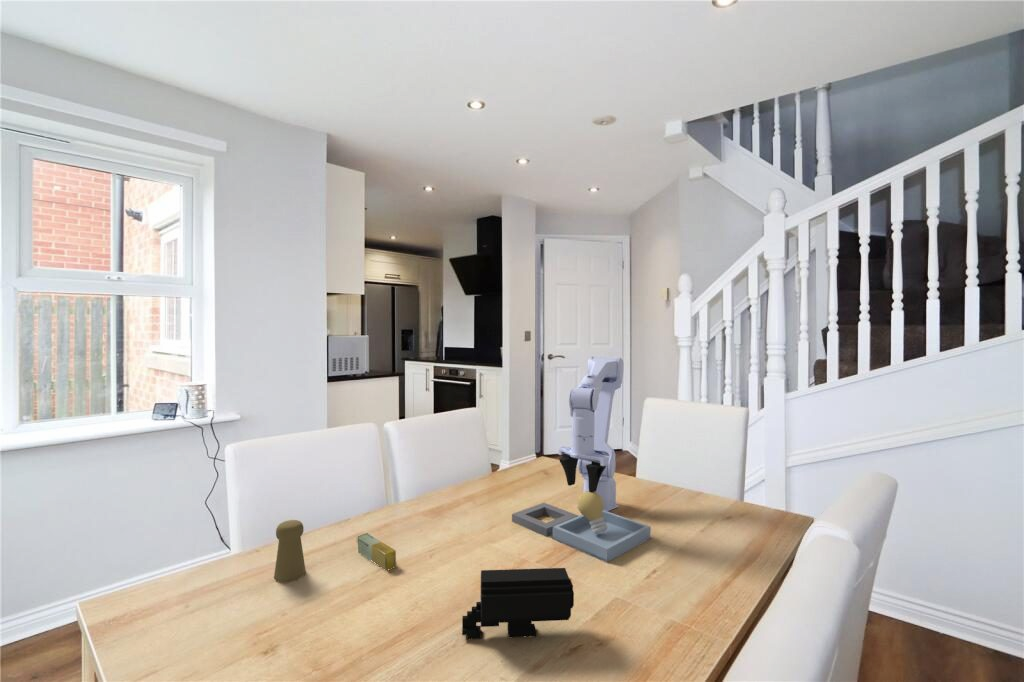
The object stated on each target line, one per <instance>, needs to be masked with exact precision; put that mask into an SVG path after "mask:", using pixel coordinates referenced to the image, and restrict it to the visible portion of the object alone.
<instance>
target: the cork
mask: <svg viewBox="0 0 1024 682" xmlns="http://www.w3.org/2000/svg"><path fill="white" fill-rule="evenodd" d="M304 530H305V529H304V525H303V522H302V521H300V520H297V519H289V520H285V521H283V522H280V523H279V524H278V525H277V527H276V530H275V536H276V538H277V540H278V543H277V552H276V553H277V554H276V561H275V568H274V575H273V579H275V580H276V581H275V580H274V581H275V582H277V581H279V582H278V583H290V582H291V581H292V582H294V580H295V581H297V579H298V580H300V579H302V578H303V577H304V576H305V575H306V574H307V572H306V570H307V569H306V565H305V563H306V562H305V556H304V551H303V544H302V535H303V533H304ZM305 573H306V574H305ZM303 575H304V576H303ZM302 576H303V577H302ZM301 577H302V578H301ZM299 578H300V579H299Z"/></svg>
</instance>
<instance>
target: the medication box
mask: <svg viewBox="0 0 1024 682" xmlns="http://www.w3.org/2000/svg"><path fill="white" fill-rule="evenodd" d="M357 545H358V546H357V548H358V549H357V550H358V551H357V553H358V554H360V553H361V556H363V555H364V556H363V557H365V556H366V557H367V558H366V557H365V558H366V559H368V560H369V559H370V561H371V560H372V561H373V562H372V561H371V562H372V563H374V562H375V563H376V564H375V563H374V564H375V565H377V564H378V565H379V566H378V565H377V566H378V567H380V568H381V567H382V568H381V569H383V568H384V569H385V571H386V570H387V571H389V570H388V569H390V570H392V569H394V568H393V567H395V568H396V567H397V551H396V549H394V548H393V547H391V546H389V545H387V544H386V543H385V542H382V541H381V540H380V539H377V538H376V537H374V536H372V535H371V534H370V533H368V532H367V533H363V534H360V535H359V536H357ZM391 568H392V569H391ZM384 569H383V570H384Z"/></svg>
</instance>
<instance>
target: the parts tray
mask: <svg viewBox="0 0 1024 682" xmlns="http://www.w3.org/2000/svg"><path fill="white" fill-rule="evenodd" d="M602 517H603V518H604V521H605V522H606V524H605V525H607V530H606V531H604V532H601V533H598V534H595V533H593V531H592V530H593V529H592V528H591V525H590V523H589V522H590V520H589V519H587V518H586V517H585V516H583V515H582V514H580V515H579V516H577V517H575V518H572V519H570V520H568V521H565V522H563V523H560V524H558V525H555V526H553V534H552V540H554V541H557V542H559V543H562V544H564V545H565V546H568V547H569V548H570V547H571V548H572V549H575V550H577V551H580V552H582V553H584V554H587V555H589V556H590V557H594V558H596V559H598V560H600V561H602V562H605V563H608V562H610V561H612V560H614V559H616V558H618V557H619V556H622V555H623V554H625V553H627V552H628V551H630V550H632V549H634V548H635V547H638V546H640V545H641V544H643V543H645V542H648V541H649V540H651V536H652V535H651V531H652V528H651V527H652V526H650V525H647V524H645V523H641V522H639V521H636V520H633V519H630V518H627V517H625V516H621V515H618V514H616V513H612V512H611V511H608V512H607V511H605V510H603V511H602Z"/></svg>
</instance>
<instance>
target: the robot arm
mask: <svg viewBox="0 0 1024 682" xmlns="http://www.w3.org/2000/svg"><path fill="white" fill-rule="evenodd" d="M623 377H624V360H623V358H622V357H621V356H619V357H605V356H604V357H603V356H600V357H599V356H590V358H589V359H588V360H587V374H586V375H585V376H583V377H582V380H581V381H580V382H579V384H578V386H577V387H574V388H572V389H571V390H570V392H569V396H568V397H569V398H568V403H569V411H570V412H569V413H570V417H571V447H569V446H558V455H559V456H562V457H559V463H560V464H561V467H562V469H563V471H564V474H565V478H566V481H567V485H568V486H569V487H571V486H573V485H575V484H576V480H577V479H576V478H577V471H578V473H579V474H580V475H581V478H583V491H582V492H583V493H585V492H588V491H589V492H596V493H597V494H599V495H600V497H601V498H602V500H603V510H605V511H607V512H611V511H612V510H614V509H616V508H619V504H617V503H616V502H617V483H616V480H615V478H614V476H615V472H616V463H617V462H616V452H615V450H614V448H612V447H611V446H610V445H609V443H608V442H609V431H610V425H611V418H612V409H613V401H614V396H615V393H616V390H618V389H620V388H621V387H622V383H623ZM583 493H582V494H583ZM576 508H577V509H578V505H577V504H576Z"/></svg>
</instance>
